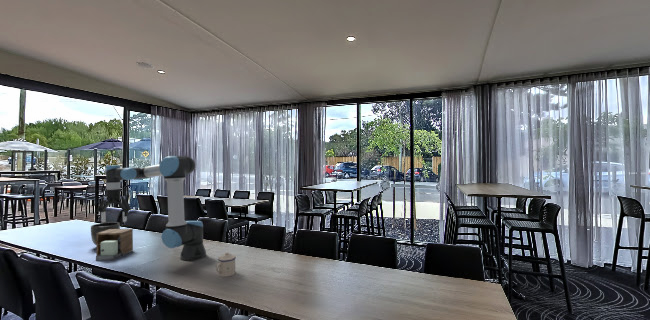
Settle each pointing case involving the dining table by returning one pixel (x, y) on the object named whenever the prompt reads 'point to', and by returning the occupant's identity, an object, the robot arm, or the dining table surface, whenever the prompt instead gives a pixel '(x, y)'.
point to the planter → (103, 228)
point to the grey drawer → (113, 257)
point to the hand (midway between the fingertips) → (114, 221)
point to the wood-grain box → (116, 239)
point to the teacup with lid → (226, 265)
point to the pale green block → (109, 248)
